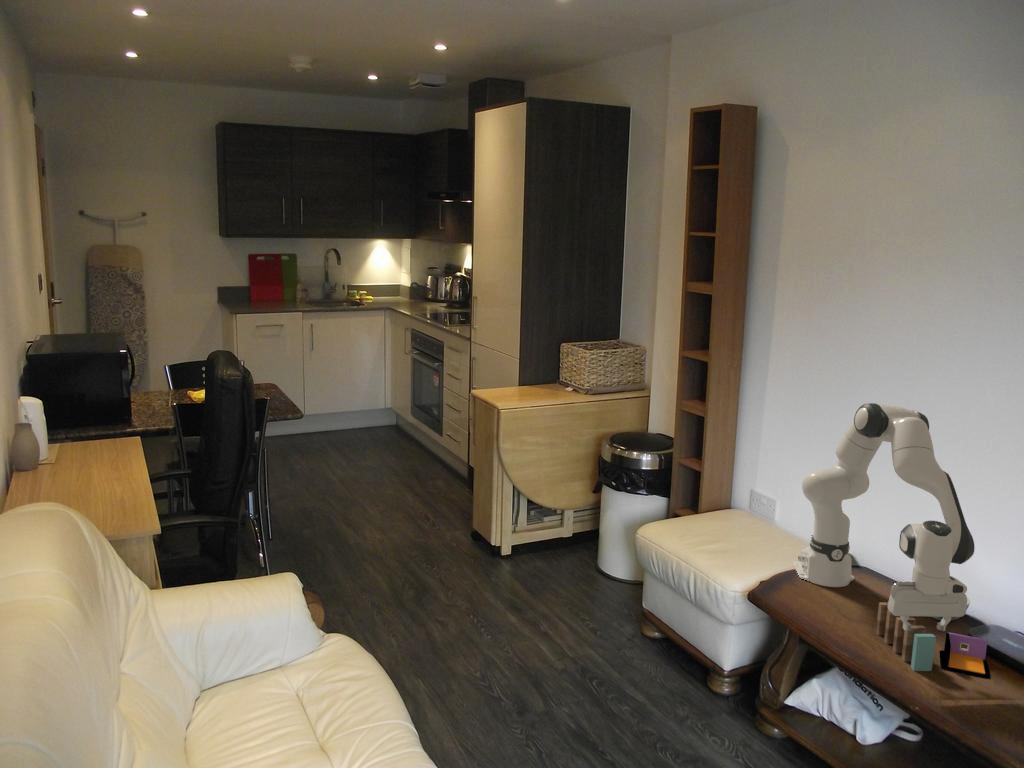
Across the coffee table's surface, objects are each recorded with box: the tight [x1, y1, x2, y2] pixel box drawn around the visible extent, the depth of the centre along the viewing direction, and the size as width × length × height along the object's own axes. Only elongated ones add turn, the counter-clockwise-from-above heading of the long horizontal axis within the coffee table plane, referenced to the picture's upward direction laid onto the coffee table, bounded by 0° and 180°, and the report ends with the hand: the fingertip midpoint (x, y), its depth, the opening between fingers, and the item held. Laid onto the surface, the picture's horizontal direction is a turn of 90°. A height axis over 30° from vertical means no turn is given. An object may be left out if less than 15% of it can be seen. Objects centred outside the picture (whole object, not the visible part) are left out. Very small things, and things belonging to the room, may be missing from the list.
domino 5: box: [910, 633, 936, 672], centre depth 226 cm, size 5×2×10 cm, turn 92°
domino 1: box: [875, 601, 888, 636], centre depth 246 cm, size 5×2×10 cm, turn 93°
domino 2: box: [883, 610, 900, 645], centre depth 241 cm, size 5×2×10 cm, turn 93°
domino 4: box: [901, 625, 927, 663], centre depth 231 cm, size 5×2×10 cm, turn 93°
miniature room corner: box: [939, 632, 991, 680], centre depth 230 cm, size 12×12×7 cm
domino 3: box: [892, 617, 917, 654], centre depth 236 cm, size 5×2×10 cm, turn 93°
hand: (923, 630), depth 225 cm, fingers open, 8 cm apart
